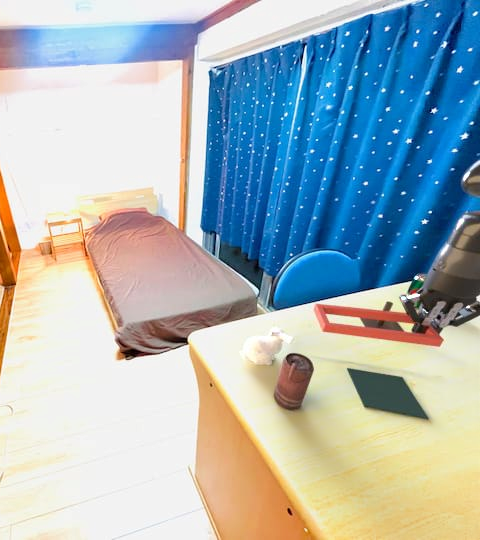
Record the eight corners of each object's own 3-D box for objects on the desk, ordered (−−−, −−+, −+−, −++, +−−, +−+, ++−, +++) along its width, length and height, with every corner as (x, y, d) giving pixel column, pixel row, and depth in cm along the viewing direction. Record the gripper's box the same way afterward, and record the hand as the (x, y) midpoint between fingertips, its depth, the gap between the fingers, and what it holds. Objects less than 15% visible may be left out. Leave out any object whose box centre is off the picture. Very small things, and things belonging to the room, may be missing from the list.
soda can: (425, 310, 94) (441, 280, 89) (407, 310, 95) (423, 280, 90) (413, 302, 99) (428, 272, 93) (397, 301, 100) (411, 272, 94)
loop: (313, 309, 70) (315, 303, 69) (417, 321, 64) (420, 314, 63) (322, 331, 63) (324, 325, 62) (439, 347, 57) (444, 339, 56)
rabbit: (271, 345, 87) (279, 315, 81) (291, 369, 78) (300, 337, 73) (234, 351, 86) (239, 321, 80) (249, 375, 78) (256, 343, 72)
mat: (401, 377, 73) (402, 376, 73) (428, 419, 63) (429, 418, 63) (346, 368, 77) (347, 367, 77) (364, 406, 67) (364, 405, 67)
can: (269, 402, 70) (279, 363, 64) (278, 386, 74) (289, 347, 67) (295, 417, 66) (310, 377, 60) (304, 399, 70) (318, 360, 63)
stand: (390, 318, 93) (402, 295, 88) (406, 338, 84) (419, 315, 80) (354, 314, 96) (363, 292, 91) (366, 333, 88) (376, 310, 83)
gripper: (495, 261, 53) (452, 330, 62) (406, 256, 58) (376, 321, 66) (530, 281, 47) (476, 354, 56) (427, 274, 52) (391, 343, 60)
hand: (422, 336), depth 61 cm, fingers closed on loop, 1 cm apart
